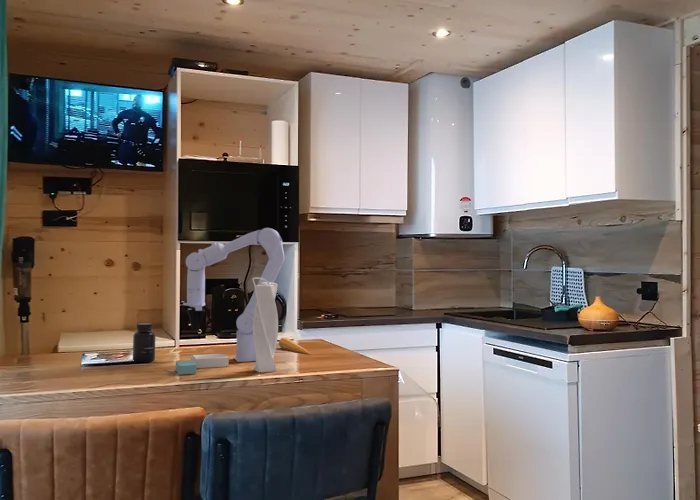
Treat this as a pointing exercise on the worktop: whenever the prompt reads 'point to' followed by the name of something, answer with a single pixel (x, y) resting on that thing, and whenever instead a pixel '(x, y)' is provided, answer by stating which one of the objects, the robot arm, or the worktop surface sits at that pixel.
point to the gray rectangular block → (210, 360)
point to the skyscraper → (265, 326)
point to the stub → (186, 367)
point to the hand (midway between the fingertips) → (195, 330)
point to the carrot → (291, 346)
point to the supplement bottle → (144, 343)
